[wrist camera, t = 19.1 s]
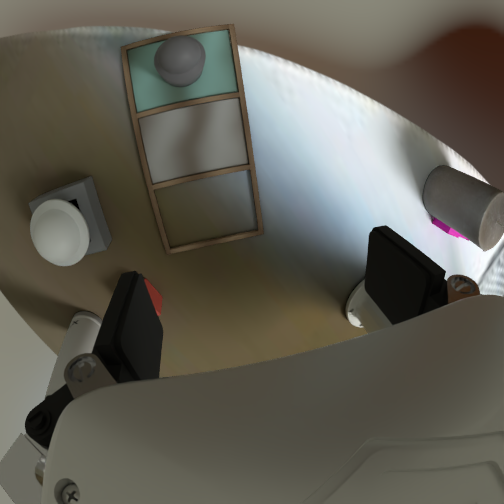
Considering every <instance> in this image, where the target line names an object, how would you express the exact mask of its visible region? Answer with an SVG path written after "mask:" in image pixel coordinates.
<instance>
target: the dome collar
mask: <svg viewBox="0 0 504 504" xmlns="http://www.w3.org/2000/svg"><path fill="white" fill-rule="evenodd" d="M50 199H62V200H65V201H70V200H73V199H77V202H78V205H79V208H80V211H81V213H82V215H83V216H84V218H85V220H86V222H87V224H88V228H89V233H90V241H89V246H88V249H87V251H86V253H85V255H89V254H93V253H96V252H100V251H104V250H107V248H108V246H109V244H110V242H111V241H112V238H111V235H110V232H109V229H108V226H107V223H106V220H105V218H104V215H103V211H102V208H101V205H100V202H99V199H98V196H97V192H96V189H95V186H94V182H93V179H92V176H90V177H87V178H84V179H81V180H79V181H76V182H73V183H70V184H68V185H65V186H62V187H60V188H57V189H54V190H52V191H49V192H47V193H44V194H42V195H40V196H38V197H36V198H35V199H34V200H32V201H31V202H29V203H28V204H29V207H30V209H31V212H32V215H33V213H34V211H35V210H36V209H37V208H38V207H39V206H40V205H41V204H42V203H44V202H45V201H47V200H50ZM85 255H84V256H85Z"/></svg>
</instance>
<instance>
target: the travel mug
mask: <svg viewBox="0 0 504 504" xmlns="http://www.w3.org/2000/svg"><path fill="white" fill-rule="evenodd" d="M101 324H102V320H101V319H100V318H99V317H98V316H97V315H95V314H93V313H91V312H87V311H81V312H78V313H76V314H75V315H74V316H73V319H72V321H71V323H70V326H69V328H68V331H67V333H66V336H65V339H64V341H63V344H62V347H61V349H60V352H59V355H58V358H57V361H56V364H55V367H54V370H53V373H52V376H51V379H50V382H49V386H48V389H47V392H46V396H45V399H46V398H48V397H49V396H50V395H52V394H53V393H54V392H56V391H57V390H58V389H60V388H61V387H62V386H63V385H65V384H66V382H65V379H64V370H65V368H66V365H67V364H68V363H69V362H70V361H71V360H72V359H73V358H74V357H76V356H78V355H80V354H84V353H92V350H93V347H94V344H95V341H96V338H97V335H98V332H99V329H100V327H101Z"/></svg>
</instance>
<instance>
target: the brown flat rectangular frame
mask: <svg viewBox="0 0 504 504" xmlns="http://www.w3.org/2000/svg"><path fill="white" fill-rule="evenodd" d="M221 30H223V31H221ZM228 30H229V31H228ZM213 31H215V32H213ZM206 32H208V33H206ZM200 33H201V34H200ZM229 33H230V37H229ZM194 34H195V35H194ZM179 35H184V36H188V35H190V36H189V37H192V38H195V39H196V40H198V41H199V42H200V43H201V44H202V45H203V47H204V49H205V53H206V59H205V63H204V67H203V71H202V74H201V76H200V78H199V79H198V80H197V81H196V82H195V83H193V84H192V85H189V86H187V87H174V86H171V85H169V84H168V83H167V82H165V80H164V79H163V78H162V77H161V76H160V74H159V73H158V72H157V70H156V68H155V65H154V56H155V53H156V51H157V49H158V48H159V46H160V45H161V44H162V43H163V42H165V41H166V40H167V39H169V38H171V37H174V36H179ZM164 40H165V41H164ZM230 40H231V43H230ZM160 41H161V42H160ZM156 42H157V43H156ZM152 43H153V44H152ZM148 44H149V45H148ZM144 45H145V46H144ZM140 46H141V47H140ZM231 46H232V50H231ZM137 47H138V48H137ZM133 48H134V49H133ZM130 49H131V50H130ZM127 50H128V54H127ZM232 52H233V56H232ZM121 54H122V61H123V68H124V75H125V82H126V88H127V94H128V100H129V105H130V111H131V116H132V121H133V126H134V131H135V136H136V141H137V145H138V150H139V154H140V158H141V163H142V167H143V171H144V175H145V179H146V183H147V187H148V191H149V195H150V198H151V202H152V206H153V209H154V213H155V217H156V220H157V224H158V227H159V230H160V234H161V237H162V240H163V244H164V247H165V250H166V253H167V255H169V254H173V253H178V252H182V251H187V250H191V249H196V248H201V247H205V246H210V245H214V244H219V243H224V242H229V241H233V240H238V239H243V238H248V237H252V236H257V235H262V234H264V231H263V223H262V215H261V208H260V200H259V192H258V185H257V178H256V170H255V163H254V155H253V148H252V141H251V134H250V127H249V120H248V113H247V106H246V99H245V92H244V86H243V79H242V72H241V66H240V59H239V53H238V46H237V40H236V33H235V27H234V24H227V25H218V26H211V27H204V28H197V29H191V30H185V31H180V32H175V33H171V34H166V35H162V36H158V37H153V38H150V39H146V40H142V41H139V42H135V43H132V44H128V45H125V46H122V47H121ZM128 58H129V62H128ZM233 59H234V63H233ZM129 65H130V69H129ZM234 65H235V69H234ZM130 72H131V75H130ZM235 72H236V76H235ZM131 79H132V82H131ZM236 79H237V83H236ZM132 85H133V88H132ZM237 85H238V89H237ZM133 91H134V94H133ZM232 92H237V93H232ZM226 93H230V94H226ZM219 94H223V95H219ZM213 95H217V96H213ZM207 96H211V97H207ZM134 97H135V100H134ZM202 97H205V98H202ZM237 97H239V98H237ZM197 98H200V99H197ZM230 98H235V99H230ZM191 99H195V100H191ZM223 99H228V100H223ZM239 99H240V103H239ZM187 100H190V101H187ZM217 100H222V101H217ZM182 101H185V102H182ZM211 101H216V102H211ZM177 102H180V103H177ZM206 102H210V103H206ZM135 103H136V105H135ZM173 103H176V104H173ZM200 103H205V104H200ZM169 104H171V105H169ZM195 104H199V105H195ZM165 105H167V106H165ZM190 105H194V106H190ZM240 105H241V109H240ZM160 106H163V107H160ZM186 106H189V107H186ZM157 107H159V108H157ZM181 107H185V108H181ZM136 108H137V111H136ZM153 108H155V109H153ZM176 108H180V109H176ZM149 109H151V110H149ZM172 109H176V110H172ZM145 110H148V111H145ZM168 110H171V111H168ZM142 111H144V112H142ZM164 111H167V112H164ZM138 112H140V113H138ZM160 112H163V113H160ZM241 112H242V116H241ZM156 113H159V114H156ZM152 114H155V115H152ZM148 115H151V116H148ZM145 116H147V117H145ZM141 117H144V118H141ZM138 118H140V119H139V121H138ZM242 119H243V123H242ZM139 124H140V126H139ZM243 126H244V130H243ZM140 129H141V131H140ZM244 133H245V137H244ZM141 134H142V136H141ZM142 138H143V141H142ZM245 139H246V143H245ZM143 143H144V145H143ZM246 146H247V150H246ZM144 148H145V150H144ZM145 152H146V154H145ZM247 153H248V157H247ZM146 157H147V159H146ZM248 160H249V164H248ZM147 161H148V163H147ZM242 164H245V165H242ZM148 165H149V167H148ZM237 165H239V166H237ZM231 166H234V167H231ZM226 167H228V168H226ZM221 168H223V169H221ZM216 169H218V170H216ZM249 169H250V174H251V181H252V188H253V196H254V203H255V210H256V217H257V224H258V230H253V231H248V232H243V233H239V234H234V235H229V236H224V237H220V238H215V239H210V240H206V241H201V242H196V243H192V244H187V245H183V246H178V247H174V248H170V246H169V242H168V239H167V236H166V232H165V229H164V225H163V222H162V218H161V214H160V211H159V207H158V203H157V200H156V196H155V192H154V190H155V189H159V188H163V187H167V186H171V185H175V184H180V183H184V182H189V181H193V180H198V179H202V178H207V177H212V176H217V175H222V174H227V173H233V172H238V171H243V170H249ZM149 170H150V172H149ZM211 170H213V171H211ZM206 171H208V172H206ZM201 172H203V173H201ZM196 173H198V174H196ZM150 174H151V176H150ZM192 174H194V175H192ZM187 175H189V176H187ZM183 176H185V177H183ZM178 177H180V178H178ZM151 178H152V180H151ZM174 178H176V179H174ZM170 179H172V180H170ZM166 180H168V181H166ZM162 181H163V182H162ZM152 182H153V184H152ZM158 182H159V183H158ZM154 183H155V184H154Z"/></svg>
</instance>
